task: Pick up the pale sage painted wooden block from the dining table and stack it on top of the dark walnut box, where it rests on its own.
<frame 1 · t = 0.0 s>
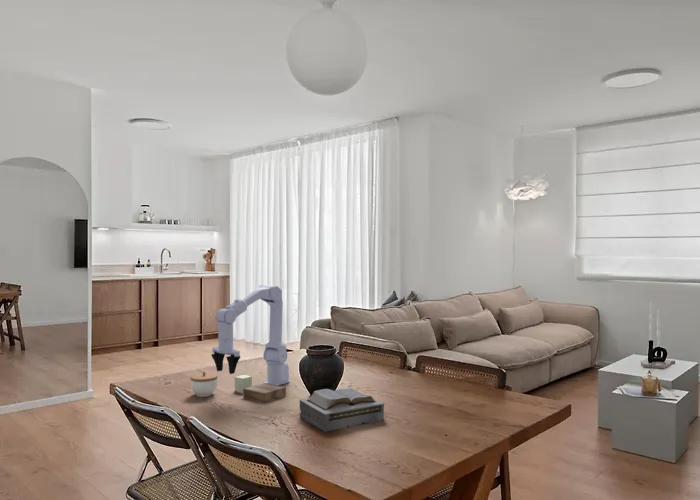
hand: (225, 372, 224), 10 cm above the table, fingers open, 7 cm apart
sage block: (243, 390, 234), on the table
bible: (341, 419, 197), on the table
lidded jar: (204, 395, 228), on the table
walnut box: (264, 397, 225), on the table
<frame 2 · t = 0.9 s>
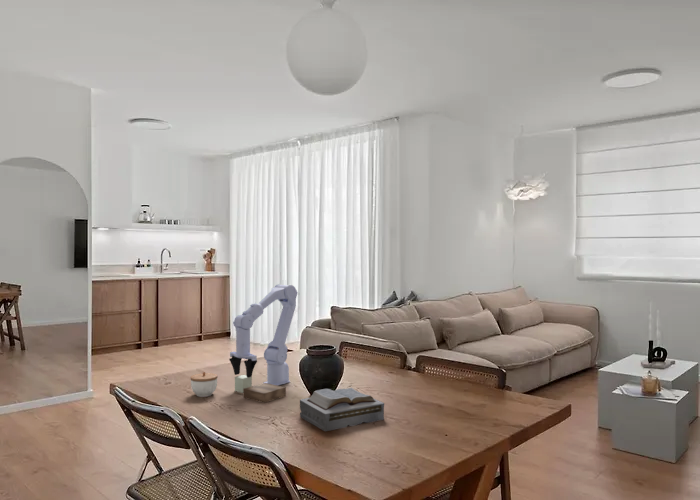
hand: (243, 375, 234), 6 cm above the table, fingers open, 7 cm apart
nothing on the table moved.
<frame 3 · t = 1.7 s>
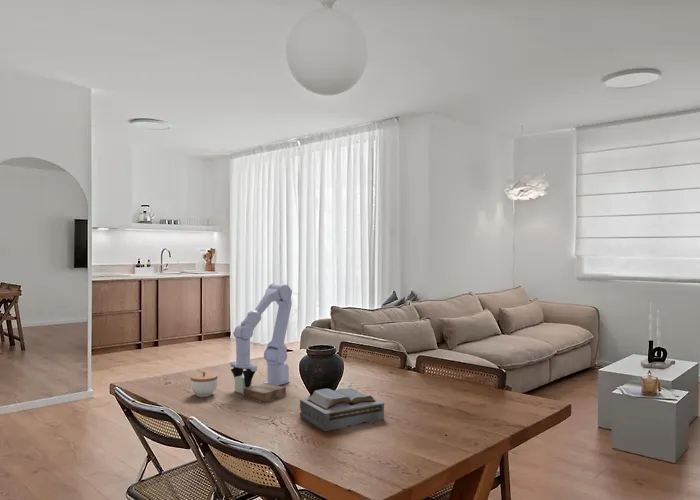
hand: (243, 385, 234), 2 cm above the table, fingers closed on sage block, 5 cm apart
sage block: (243, 390, 234), on the table, touching gripper
everything else where it was.
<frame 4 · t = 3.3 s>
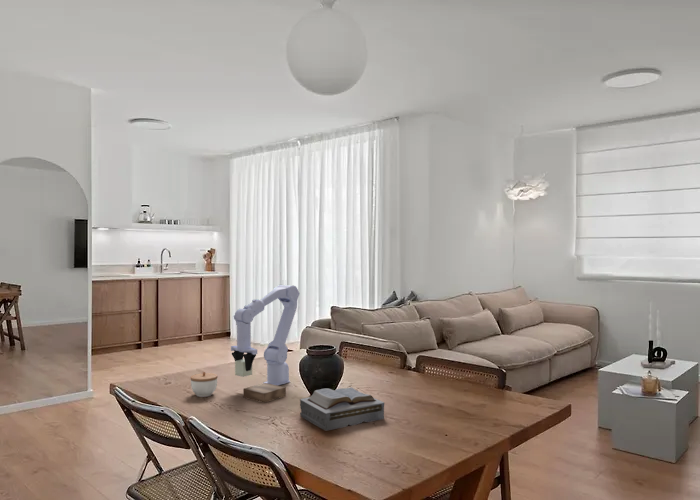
hand: (243, 369, 234), 9 cm above the table, fingers closed on sage block, 5 cm apart
sage block: (243, 374, 234), point 7 cm above the table, touching gripper
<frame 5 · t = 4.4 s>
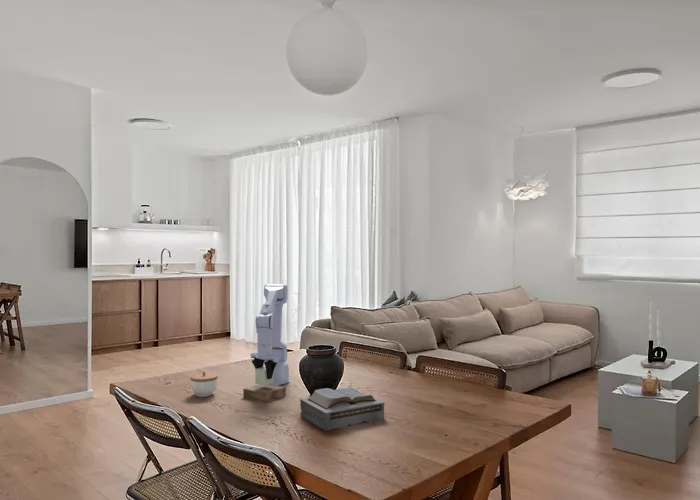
hand: (264, 377, 225), 8 cm above the table, fingers closed on sage block, 5 cm apart
sage block: (264, 383, 224), point 5 cm above the table, touching gripper
when the fingers open (7 cm above the table, at t = 5.0 s): sage block drops 1 cm, resting on walnut box.
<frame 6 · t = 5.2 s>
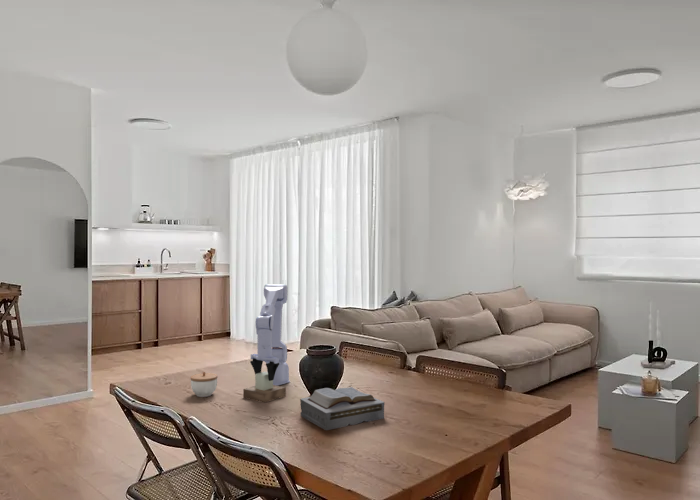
hand: (264, 378, 225), 7 cm above the table, fingers open, 7 cm apart
sage block: (264, 388, 224), point 3 cm above the table, touching walnut box
walnut box: (264, 398, 225), on the table, touching sage block
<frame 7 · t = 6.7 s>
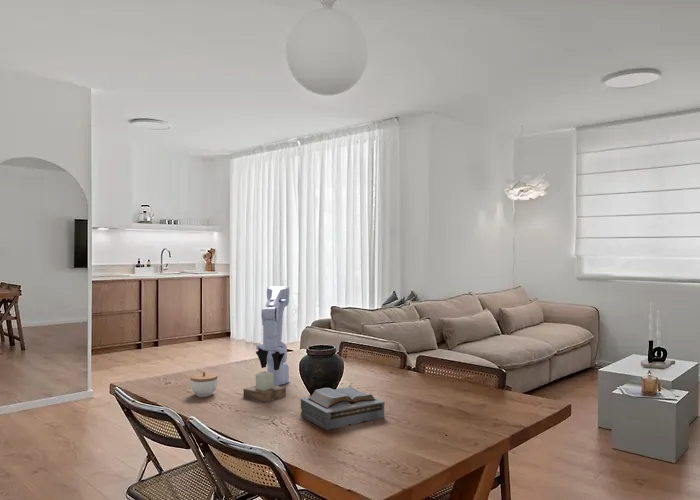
hand: (270, 368, 231), 10 cm above the table, fingers open, 7 cm apart
sage block: (264, 388, 224), point 3 cm above the table
walnut box: (264, 397, 225), on the table
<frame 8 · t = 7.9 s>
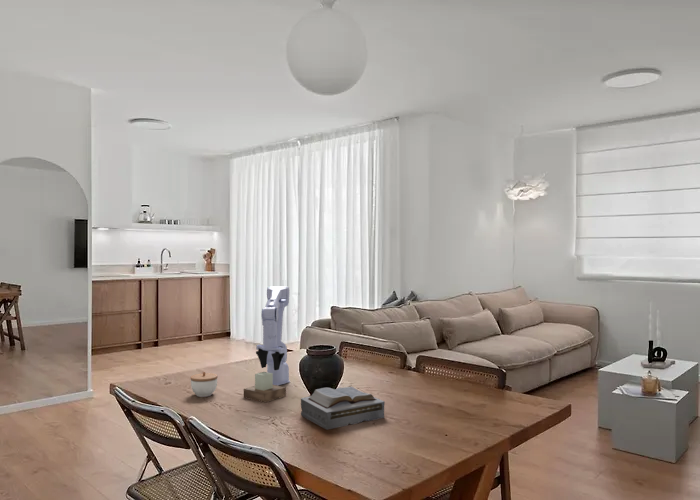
hand: (270, 368, 231), 10 cm above the table, fingers open, 7 cm apart
sage block: (263, 388, 224), point 3 cm above the table, touching walnut box
walnut box: (264, 397, 225), on the table, touching sage block
at the end: sage block inside the target area on the walnut box (0.7 cm from its centre), point 4.0 cm above the walnut box's base; sage block tilted 0°; the gripper is holding nothing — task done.
